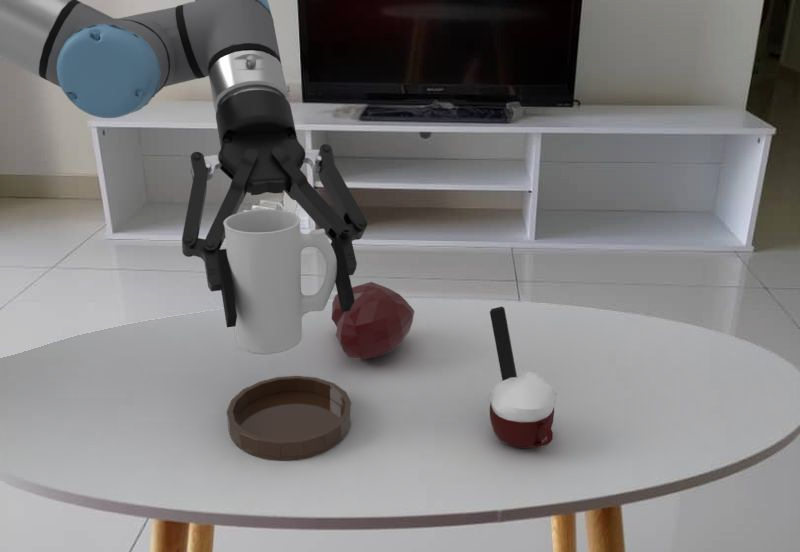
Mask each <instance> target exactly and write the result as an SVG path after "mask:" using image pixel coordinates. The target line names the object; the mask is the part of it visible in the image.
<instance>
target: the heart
mask: <svg viewBox="0 0 800 552" xmlns="http://www.w3.org/2000/svg"><path fill="white" fill-rule="evenodd" d="M352 290H353V295H354V299H355V301H354V303H353V305H352V307H351V309H350V311H347V312H341V307H340V302H339V297H338V293H337V294H336V295H335V296H334V297H333V301H332V305H331V320H332V321H333V324H334V325H335V326H336V332H335V336H336V339H337V341H338V343H339V345H340V346H341V349H342V351H343V352H344V353H345V355H346V356H347V357H348V358H351V359H358V360H367V359H373V358H377V357H382V356H385V355H388V353H391V351H393V350H394V349H395V348H396V347H397V346H399V345H400V344H401V343H402V341H404V339H405V338H406V336H407V335H408V334H409V332H410V330H411V328H412V325H413V322H414V317H415V316H414V315H415V309H413V307H412V306H411V305H410V304H409V302H408V301H407V300H406V299H405V298H403V296H401V294H399V293H398V292H396V291H395V290H392V289H391V288H389V287H386V286H385V285H384V286H383V285H381V284H379V283H375V282H374V281H369V282H366V283H365V282H364V283H362V284H358V285H354V286H352Z"/></svg>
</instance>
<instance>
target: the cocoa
mask: <svg viewBox="0 0 800 552" xmlns="http://www.w3.org/2000/svg"><path fill="white" fill-rule="evenodd" d="M489 315H490V321H491V327H492V332H493V338H494V343H495V347H496V354H497V359H498V364H499V371H500V375H501V380H499V382H498V383H497V384H496V385H495V387H494V388H493V389H492V390H491V392H490V393H489V395H490V397H489V398H490V402H489V419H490V424H491V428H492V430H493V433H495V436H496V437H497V438H498V439H499V440H500V441H501V442H502V443H504V444H506V445H508V446H510V447H513V448H518V449H528V448H532V447H534V448H542V447H545V446H548V445H549V444H551V443H552V441H553V439H554V435H553V431H552V427H553V423H554V417H555V406H556V404H557V392H556V391H555V390H554V388H552V386H551V383H550V382H549V381H547V380H546V379H544V378H543V377H542V376H540V375H539V374H538V373H537V372H536V371H526V372H524V373H523V374H521V375H519V376H518V375H517V368H516V363H515V358H514V353H513V348H512V342H511V336H510V331H509V325H508V320H507V313H506V309H505V307H504V306H498V307H494V308H491V309H490V310H489Z"/></svg>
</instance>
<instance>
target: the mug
mask: <svg viewBox="0 0 800 552" xmlns="http://www.w3.org/2000/svg"><path fill="white" fill-rule="evenodd" d="M223 224H224V227H225V239H224V240H225V249H226V250H227V257H228V263H229V269H230V275H231V281H232V288H233V294H234V300H235V306H236V313H237V320H236V326H235V327H234V334H235V343H236V345H237V347H239V348H240V349H241V350H243V351H245V352H247V353H250V354H254V355H255V354H256V355H275V354H281V353H285V352H287V351H290V350H292V349H294V348H295V347H297V346H298V345H299V344H300V343H301V341H302V337H303V327H302V324H303V323H302V322H303V321H302V320H303V319H302V318H303V316H305V314H308V313H311V312H321V311H322V312H323V311H324V310H325V309H326V306H327V305H328V302H329V299H330V297H331V295H332V292H333V289H334V287H335V285H336V283H335V281H336V277H337V259H336V256H335V253H334V250H333V248H332V246H331V242H330V240H329V239H328V238H329V237H328V236H327V235H326V234H325V230H324V229H321V228H319V229H312V230H310V232H309V233H303V232H301V217H300V216H299V215H298V214H296V213H293V212H291V211H286V210H282V209H271V208H270V209H269V208H268V209H267V208H266V209H265V208H264V209H250V210H244V211H241V212H237V213H236V214H234V215H231V216H229V217H228V218H226V219H225V220H224V222H223ZM306 248H315V249H317V250H318V251H319V252H320V253H321V254H322V256H323V258H324V261H325V265H326V268H325V275H324V276H325V277H324V280H323V283H322V285H321V287H320V288H319V289H318V291H317V292H316V293H314V294H311V295H307V294H306V295H305V294H303V293H302V266H301V265H302V263H301V260H302V259H301V258H302V257H301V256H302V251H303V250H304V249H306Z"/></svg>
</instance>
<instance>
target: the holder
mask: <svg viewBox="0 0 800 552" xmlns="http://www.w3.org/2000/svg"><path fill="white" fill-rule="evenodd" d="M352 410H353V409H352V401H351V399H350V397H349V395H348V393H347V392H346V390H344V389H343V388H341V387H340V386H339V385H337V384H336V383H334V382H331V381H328V380H325V379H323V378H319V377H314V376H305V375H288V376H276V377H272V378H269V379H264V380H260V381H258V382H256V383H254V384H252V385H250V386H247V387H245V388H243V389H242V390H240V391H239V393H237V394H236V395H235V396H234V397H233V398H232V399H231V400H230V403H229V405H228V407H227V410H226V418H227V419H226V421H227V427H228V434H229V438H230V439H231V441H232V443H234V445H235V446H236V447H237V448H239V449H240V450H241V451H243V452H244V453H247V454H248V455H251V456H253V457H256V458H261V459H264V460H265V459H266V460H270V461H271V460H273V461H294V460H295V461H296V460H303V459H308V458H311V457H315V456H318V455H321V454H323V453H325V452H328V451H329V450H331V449H333V448H335V447H336V446H337V445H339V444H340V443H341V442H342V441H343V440H344V439H345V438H346V437H347V435H348V434H349V432H350V430H351V426H352V417H353V414H352V413H353V412H352Z"/></svg>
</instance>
